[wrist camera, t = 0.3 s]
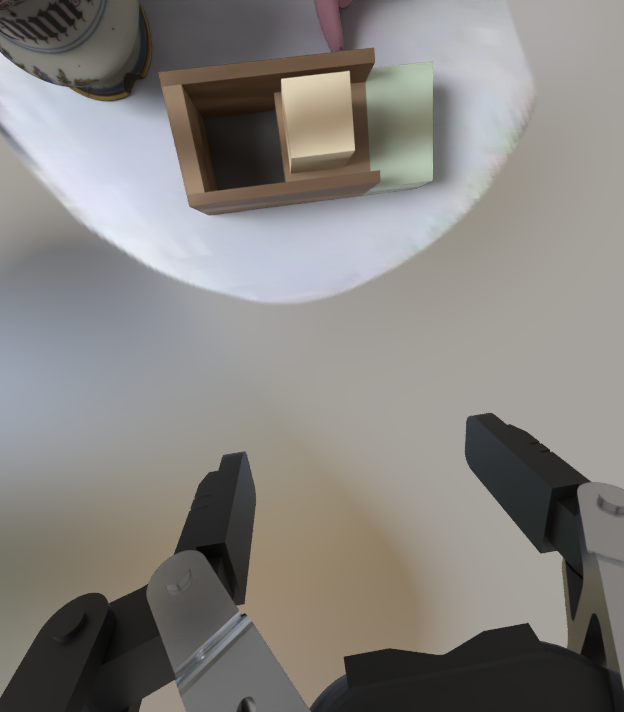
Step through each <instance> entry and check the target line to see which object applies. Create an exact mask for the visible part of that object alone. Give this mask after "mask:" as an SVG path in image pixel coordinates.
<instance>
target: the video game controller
mask: <svg viewBox="0 0 624 712" xmlns="http://www.w3.org/2000/svg"><path fill="white" fill-rule="evenodd" d="M352 1H353V0H314V2H315V6H316V10H317V14H318V18H319V22H320V25H321V29H322V31H323V34H324V37H325V39H326V41H327V44H328V46H329V48H330V49H331V51H332V52H340V51H342V50H343V44H344V35H343V29H342V24H341V19H340V12H339V6H340V7H341V8H345V7H347V6H348V5H349V4H350V3H351V2H352Z"/></svg>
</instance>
